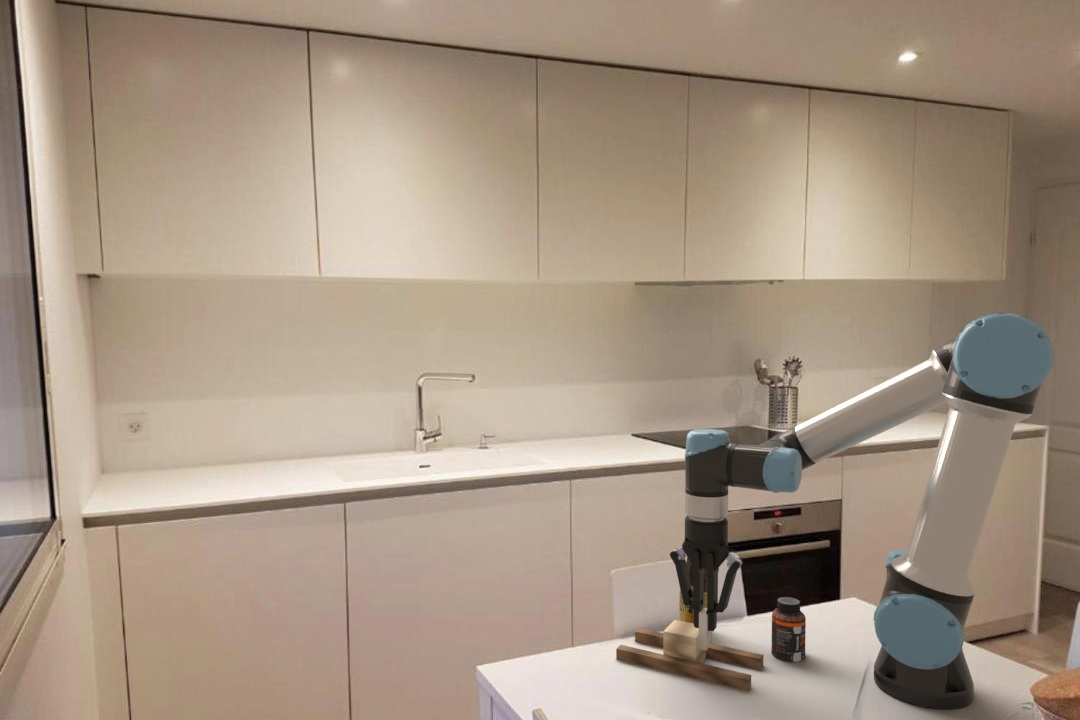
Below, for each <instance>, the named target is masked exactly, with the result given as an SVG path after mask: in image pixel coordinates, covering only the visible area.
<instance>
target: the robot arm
mask: <svg viewBox="0 0 1080 720" xmlns="http://www.w3.org/2000/svg"><path fill="white" fill-rule="evenodd" d="M1051 341H1052V340H1051V339H1050V337H1049V336H1048V334H1047V333H1046V330H1044V329H1043V328H1042V327H1041V326H1040V325H1039V324H1038V323H1037V322H1035V321H1033V320H1032V319H1030V318H1028V317H1026V316H1023V315H1018V314H1016V313H1015V312H1014V313H1012V312H1011V313H1010V312H1002V311H1001V312H993V313H989V314H984V315H982V316H979V317H977V318H975V319H974V320H972V321H970V322H969V323H968V324H966V326H964V328H963V329H962V330H960V333H958V335H956V336H955V337H954V338H952V339H951V340H949V341H947V342H945V343H944V344H942V345H941V346H938V347H936V348H934V349H932V351H931V353H930V356H929V358H928V359H926V360H924V361H922V362H920V363H917V364H916V365H914V366H912V367H910V368H908V369H907V370H905V371H902V372H900V373H898V374H896V375H894V376H893V377H890V378H888V379H886V380H885V381H883V382H881V383H879V384H877V385H875V386H872V387H871V388H869V389H867V390H865V391H863V392H861V393H858V394H857V395H855V396H852V397H850V398H849V399H847V400H845V401H843V402H841V403H839V404H837V405H834V406H833V407H831V408H829V409H826V410H825V411H823V412H822V413H820V414H817V415H815V416H813V417H811V418H809V419H808V420H805V421H802V423H799V424H797V425H795V426H794V427H792V428H790V429H787V430H786V431H783V432H782V433H779V434H776V435H774V436H773V437H770V438H768V439H767V440H766V441H764V442H762V443H760V444H757V445H755V444H742V443H741V444H740V443H734V442H731V439H730V435H729V432H727V431H726V430H723V429H715V428H698V429H697V428H696V429H692V430H690V431H689V432H688V433H687V435H686V441H685V454H684V457H685V459H684V465H685V469H684V473H685V476H684V477H685V479H684V480H685V481H684V482H685V488H684V513H685V515H686V516H685V517H684V540H683V542H682V544H681V546H680V547H679V548H676V547H675V548H674V549H673V550H672V551H671V552H669V556H670V559H671V560H672V562H673V564H674V566H675V571H676V575H677V581H678V584H679V591H680V590H681V594H682V599H683V603H684V605H686V606H690V607H691V608H692V609H693V610H694V627H695V628H699V649H703V650H707V649H708V648H709V647H710V645H711V644H712V632H714V631H715V630H716V629H717V626H718V625H717V623H718V622H717V621H718V617H717V616H718V613H724V611H725V610H726V609H727V608H728V607H729V603H730V599H731V595H732V592H733V589H734V588H733V587H734V584H735V580H736V578H737V577H736V576H737V572H738V570H739V569H740V568H741V566H742V565H744V564H743V563H744V560H743V559H742V558H740V557H738V558H737V557H736V556H735V555H733V553H731V548H730V546H729V543H728V538H729V536H728V535H729V532H728V531H729V520H728V519H727V518H726V517H728V516H729V487H732V488H742V489H750V490H758V491H764V492H765V491H766V492H772V493H774V494H777V493H791V494H792V493H796V492H797V491H798V490H799V488H800V484H801V480H802V477H803V475H802V474H803V473H802V472H803V470H806V469H808V468H809V467H812V466H814V465H815V464H817V463H820V462H822V461H824V460H826V459H829V458H831V457H833V456H835V455H836V454H839V453H841V452H843V451H846V450H847V449H850V448H852V447H854V446H856V445H858V444H860V443H862V442H864V441H867V440H870V439H871V438H874V437H876V436H878V435H880V434H882V433H884V432H887V431H888V430H891V429H892V428H895V427H897V426H900V425H901V424H904V423H906V422H908V421H909V420H913V419H915V418H916V417H919V416H921V415H923V414H925V413H927V412H929V411H932V410H933V409H936V408H938V407H940V406H943V405H944V404H946V403H947V405H948V407H949V408H948V411H947V415H946V418H945V422H944V425H943V427H942V431H941V434H940V438H939V441H938V445H937V448H936V451H935V454H934V457H933V461H932V464H931V467H930V472H929V475H928V478H927V481H926V485H925V488H924V492H923V495H922V499H921V502H920V504H919V508H918V512H917V514H916V517H915V521H914V524H913V529H912V531H911V534H910V538H909V542H908V545H907V547H906V549H898V550H897V549H895V550H891V551H890V552H889V553H887V556H886V563H885V564H884V565H885V568H886V572H885V573H886V575H885V576H886V578H885V579H886V580H885V583H884V586H883V590H882V594H881V596H880V598H879V599H880V600H879V604H878V605H877V606H876V607H875V608H876V609H875V611H874V613H873V624H874V631H875V635H876V637H877V639H878V642H879V643H880V645H881V647H880V649H879V652H878V653H877V657H876V660H875V662H874V666H873V679H874V682H875V684H876V685H877V686H878V688H880V689H881V690H882V691H884V692H885V693H886V694H888V695H890V696H891V697H894V698H896V699H898V700H901V701H903V702H905V703H909V704H913V705H917V706H920V707H924V708H931V709H938V710H939V709H943V710H952V709H960V708H963V707H967V706H969V705H970V704H972V702H973V701H974V695H975V694H974V693H975V690H974V689H975V685H974V681H973V677H972V674H971V672H970V668H969V665H968V663H967V660H966V657H965V656H966V655H965V653H964V651H963V650H964V649H963V646H964V642H965V641H964V629H965V626H966V622H967V620H968V617H969V613H970V609H971V606H972V602H973V600H974V596H975V594H976V587H975V586H974V584H973V583H972V581H971V579H970V578H969V573H970V569H971V567H972V563H973V559H974V558H975V557H974V556H975V553H976V550H977V547H978V544H979V541H980V537H981V534H982V531H983V528H984V524H985V522H986V518H987V515H988V513H989V509H990V506H991V503H992V499H993V497H994V493H995V491H996V486H997V483H998V481H999V477H1000V474H1001V471H1002V467H1003V464H1004V461H1005V459H1006V456H1007V452H1008V449H1009V446H1010V442H1011V440H1012V436H1013V432H1014V430H1015V426H1016V425H1017V424H1018V423H1019V422H1022V421H1024V420H1027V419H1028V418H1030V417H1031V416H1032V414H1033V412H1034V408H1035V405H1036V402H1037V399H1038V396H1039V393H1040V390H1041V386H1042V384H1043V382H1044V381H1045V380H1046V379H1047V376H1049V374H1050V372H1051V371H1052V366H1053V362H1054V349H1053V344H1052V342H1051ZM687 557H688V559H689V560H690V562H691V563H692V565H693V568H692V572H693V592H692V587H691V582H690V578H689V573H688V569H687V564H686V561H687V560H686V558H687ZM726 560H727V563H726V567H727V568H728V569H727V571H726V573H725V577H724V581H723V585H722V587H721V592H720V596H719V594H718V593H719V591H718V590H719V570H720V567H721V566H722V564H723V563H724V562H725V561H726ZM704 569H707V608H703V606H704V604H705V603H704ZM718 598H719V599H718Z"/></svg>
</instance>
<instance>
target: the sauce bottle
mask: <svg viewBox="0 0 1080 720" xmlns="http://www.w3.org/2000/svg"><path fill="white" fill-rule="evenodd" d="M685 561H686V564H687V569H688V573H689V578H690V582H691V587H692V592H693V572H692V568H693V565H692V563H691V562H690V560H689V559H688V557H687V556H686V560H685ZM678 603H679V607H678V609H679V610H678V620H679V621H684V622H688V623H693V624H694V610H693V609H692V608H691V607H690V606H686V605H684V603H683V599H682V594H681V590H680V589H679V602H678ZM704 603H705V604H704V606H703V608H707V569H704Z"/></svg>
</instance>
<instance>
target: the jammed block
mask: <svg viewBox="0 0 1080 720" xmlns="http://www.w3.org/2000/svg"><path fill="white" fill-rule="evenodd" d="M662 633H663V648H662V650H663V652H662V653H663V655H667V656H672V657H676V658H680V659H685V660H689V661H693V662H698V663H702V664H704V662H705V660H706V659H707V658H706V650H703V649H699V628H695V627H694V624H693V623H688V622H684V621H679V619H678V620H677V619H674V620H673V621H671V623H670V624H669V625H668V626H667V627H665V629H664V630H663V632H662Z"/></svg>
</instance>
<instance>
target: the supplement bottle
mask: <svg viewBox="0 0 1080 720" xmlns="http://www.w3.org/2000/svg"><path fill="white" fill-rule="evenodd" d="M776 606H777V607H776V608H775V609H774V610H773V611H772V613H771V655H772V656H773V657H774V658H775V659H777V660H780V661H783V662H788V663H799V662H803V661H804V660H805V658H806V629H807V628H806V627H807V625H806V623H807V622H806V615H805V614H804V612H803V611H802V610H801V601H800V600H799V599H797V598H793V597H788V596H787V597H786V596H785V597H784V596H783V597H778V599H777V603H776Z"/></svg>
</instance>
